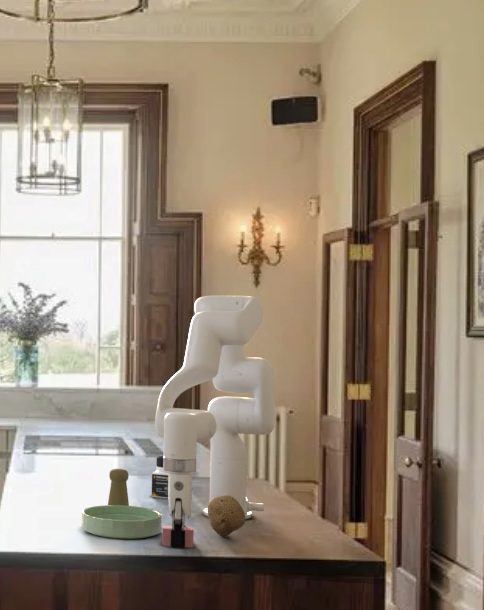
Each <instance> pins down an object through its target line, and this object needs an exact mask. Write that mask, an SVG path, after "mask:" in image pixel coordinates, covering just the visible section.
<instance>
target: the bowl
mask: <svg viewBox="0 0 484 610" xmlns="http://www.w3.org/2000/svg"><path fill="white" fill-rule="evenodd" d="M162 515H163V514H162V513H161V512H160V511H158V510H155V509H151V508H148V507H143V506H137V505H136V506H134V505H129V506H123V505H108V504H107V505H95V506H94V505H93V506H89V507H86V508H84V509H82V512H81V528H82V530H83V531H85V532H86V533H89V534H92V535H95V536H98V537H101V538H102V537H103V538H110V539H117V540H118V539H119V540H135V539H136V540H137V539H146V538H150V537H153V536H156V535H159V534H160V533H162V519H163V518H162Z"/></svg>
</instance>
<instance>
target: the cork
mask: <svg viewBox="0 0 484 610" xmlns="http://www.w3.org/2000/svg"><path fill="white" fill-rule="evenodd" d="M108 474H109V476H108V477H109V480H110V487H109V493H108V501H107V505H123V506H130V504H129V503H130V501H129V494H128V492H129V491H128V484H127V483H128V480H129V475H130V474H129V471H128V470H127V469H123V468H112V469H111V470H110V471H109V473H108Z"/></svg>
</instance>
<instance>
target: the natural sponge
mask: <svg viewBox="0 0 484 610" xmlns="http://www.w3.org/2000/svg"><path fill="white" fill-rule="evenodd" d="M206 508H207V512H208V516H207V517H208V520H209V525H210V527H211V529H212V530H213V531H214V532H215V533H216V534H217V535H218V536H219V537H222V538H223V537H228V536H230V535H232V533H234V532H235V531H237V530H239V529H241V528H242V527H244V525H245V524H246V519H245V518H246V517H245V513H244V511H243V509H242V507H241V505H240V503H239V502H238V501H237V500H236V499H235V498H233V497H232V496H229V495H222V496H217V497H215V498H213V499H212V500H211V501H210V500H209V502H208V504H207V507H206Z"/></svg>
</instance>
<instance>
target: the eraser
mask: <svg viewBox="0 0 484 610" xmlns="http://www.w3.org/2000/svg"><path fill="white" fill-rule="evenodd" d="M171 529H172V525H163V526H162V538H161V539H162V541H161V543H162V544H161V545H162V546H164V547H165V546H166V547H171ZM184 530H185V548H194V534H195V533H194V532H195V528H194V526H186V527H184Z"/></svg>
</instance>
